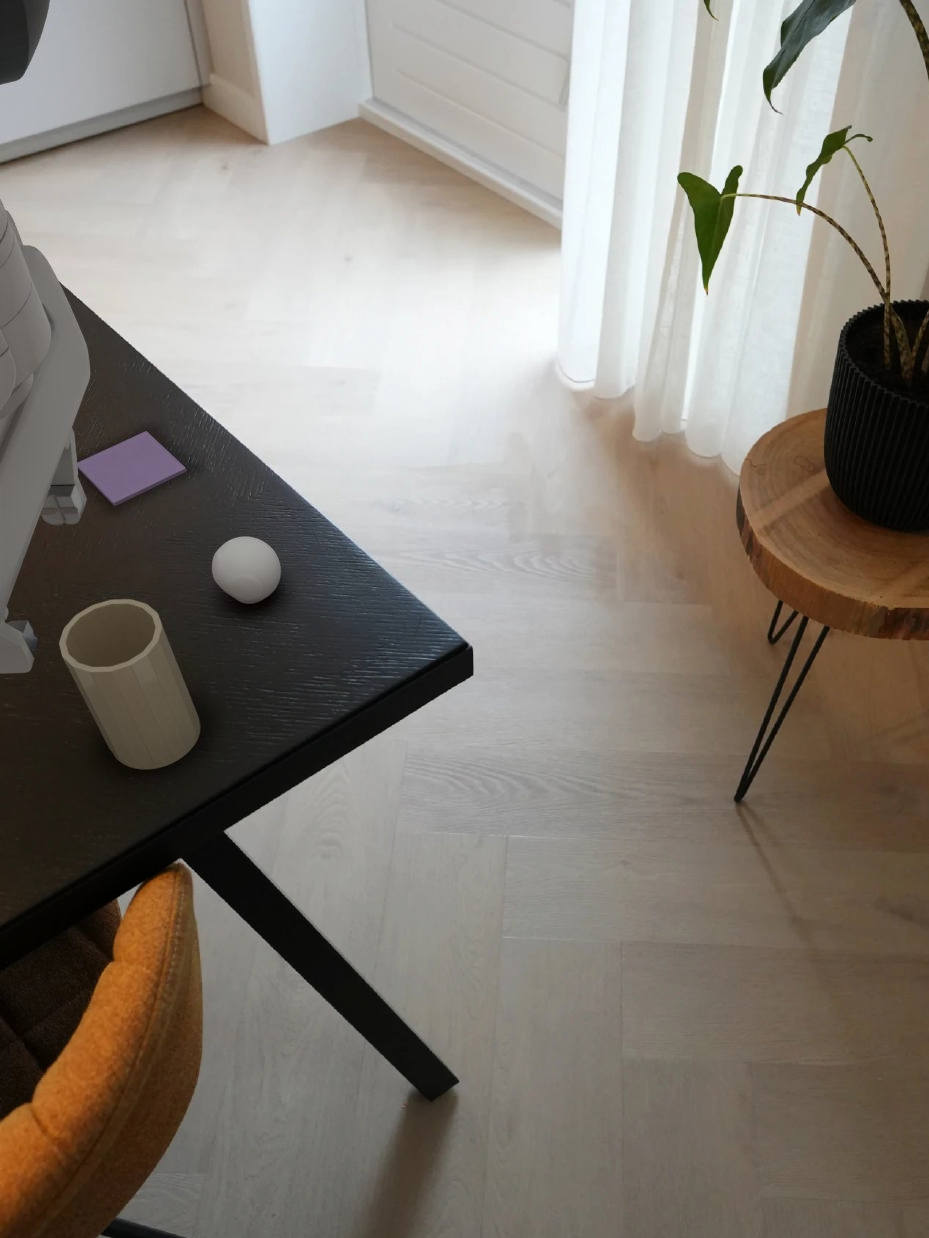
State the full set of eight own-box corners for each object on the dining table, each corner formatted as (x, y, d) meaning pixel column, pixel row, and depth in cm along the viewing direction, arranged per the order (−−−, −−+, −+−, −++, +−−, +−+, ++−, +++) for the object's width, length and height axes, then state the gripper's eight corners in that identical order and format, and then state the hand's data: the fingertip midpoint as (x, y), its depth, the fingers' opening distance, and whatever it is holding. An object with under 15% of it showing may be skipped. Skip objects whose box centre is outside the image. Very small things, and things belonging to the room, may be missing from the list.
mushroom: (218, 578, 86) (202, 529, 83) (282, 566, 87) (269, 517, 83) (224, 624, 83) (208, 575, 80) (290, 611, 84) (277, 562, 80)
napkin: (114, 507, 91) (113, 503, 91) (76, 467, 95) (74, 463, 94) (187, 471, 94) (185, 468, 94) (147, 434, 97) (146, 430, 97)
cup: (101, 771, 75) (49, 673, 67) (119, 700, 79) (72, 600, 71) (193, 768, 75) (151, 670, 67) (206, 698, 79) (168, 597, 71)
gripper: (-87, 179, 48) (31, 443, 59) (-295, 499, 35) (-96, 762, 46) (65, 176, 48) (154, 440, 59) (-88, 494, 35) (62, 757, 46)
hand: (44, 583), depth 52 cm, fingers open, 8 cm apart
